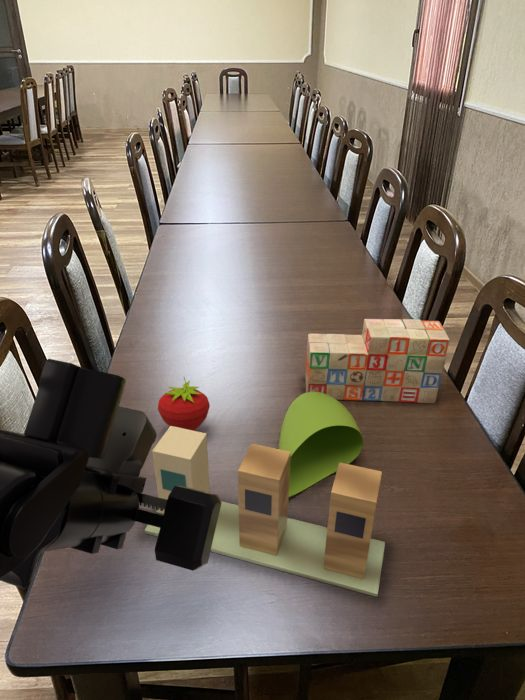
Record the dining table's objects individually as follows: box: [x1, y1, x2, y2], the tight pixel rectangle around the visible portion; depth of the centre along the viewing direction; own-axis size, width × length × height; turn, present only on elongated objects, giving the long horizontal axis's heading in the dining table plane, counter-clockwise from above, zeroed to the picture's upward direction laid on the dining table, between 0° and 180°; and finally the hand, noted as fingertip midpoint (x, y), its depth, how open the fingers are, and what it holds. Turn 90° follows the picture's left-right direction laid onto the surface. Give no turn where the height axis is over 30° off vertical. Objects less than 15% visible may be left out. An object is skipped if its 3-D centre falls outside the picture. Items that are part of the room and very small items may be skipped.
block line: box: [144, 443, 386, 598], centre depth 61 cm, size 7×28×13 cm, turn 73°
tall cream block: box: [151, 426, 211, 514], centre depth 64 cm, size 5×5×12 cm
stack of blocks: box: [304, 318, 450, 404], centre depth 88 cm, size 21×6×12 cm, turn 88°
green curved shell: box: [278, 392, 364, 498], centre depth 76 cm, size 8×12×20 cm
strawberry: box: [157, 376, 211, 431], centre depth 78 cm, size 6×8×10 cm
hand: (150, 506), depth 55 cm, fingers open, 9 cm apart
